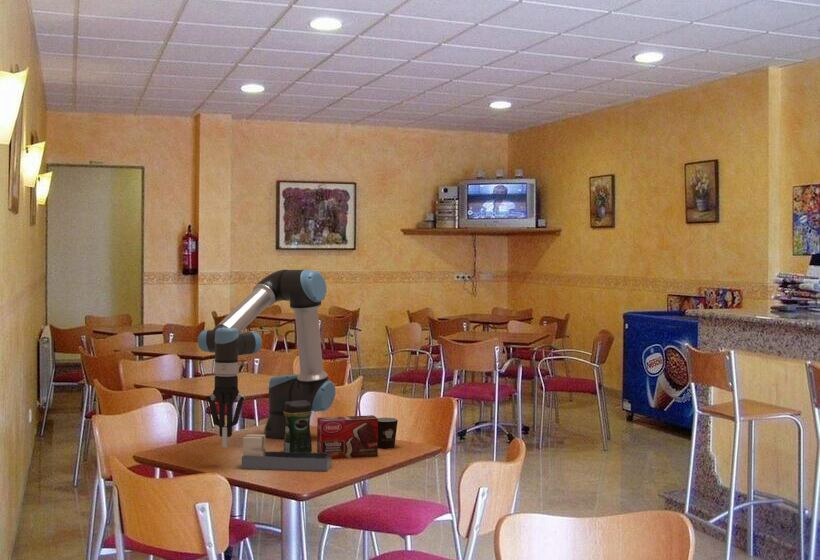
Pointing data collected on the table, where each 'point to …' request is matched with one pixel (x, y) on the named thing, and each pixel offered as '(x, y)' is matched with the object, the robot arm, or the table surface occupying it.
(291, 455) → the chute
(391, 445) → the coffee mug
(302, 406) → the coffee jar
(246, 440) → the block
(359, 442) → the ice cream box
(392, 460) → the table surface
